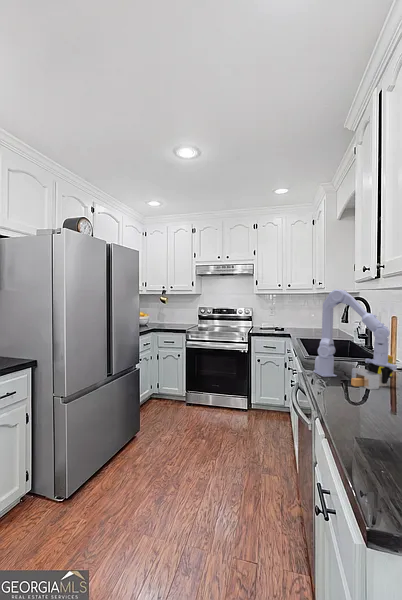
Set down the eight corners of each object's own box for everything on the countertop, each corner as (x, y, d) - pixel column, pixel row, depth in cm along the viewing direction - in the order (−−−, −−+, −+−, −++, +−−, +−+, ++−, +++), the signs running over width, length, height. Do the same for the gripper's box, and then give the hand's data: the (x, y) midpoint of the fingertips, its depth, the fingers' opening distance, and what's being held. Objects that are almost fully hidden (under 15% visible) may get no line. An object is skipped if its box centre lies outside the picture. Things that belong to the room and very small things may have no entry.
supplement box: (392, 378, 155) (393, 356, 154) (379, 377, 156) (380, 355, 155) (387, 374, 160) (388, 354, 160) (374, 374, 162) (375, 353, 161)
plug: (349, 384, 141) (350, 374, 141) (382, 383, 145) (383, 373, 144) (355, 387, 138) (356, 377, 137) (389, 385, 141) (389, 376, 141)
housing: (351, 381, 146) (352, 368, 146) (361, 381, 147) (361, 368, 147) (368, 389, 135) (369, 374, 134) (378, 389, 135) (379, 374, 135)
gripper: (361, 349, 147) (359, 378, 147) (389, 356, 133) (387, 387, 134) (371, 349, 149) (370, 377, 150) (400, 355, 136) (399, 385, 136)
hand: (379, 381), depth 142 cm, fingers closed on plug, 5 cm apart
